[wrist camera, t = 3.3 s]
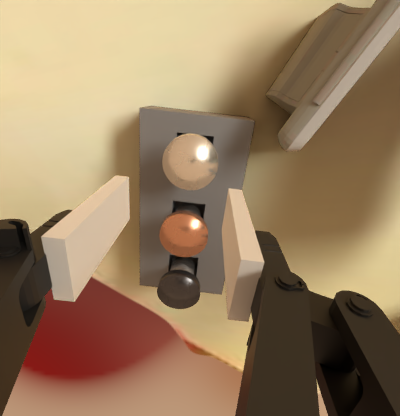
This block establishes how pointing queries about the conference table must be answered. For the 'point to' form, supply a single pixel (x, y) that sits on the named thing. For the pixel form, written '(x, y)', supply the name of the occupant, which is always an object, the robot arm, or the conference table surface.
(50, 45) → the conference table surface
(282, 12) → the conference table surface
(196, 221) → the plunger terracotta
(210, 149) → the plunger ivory
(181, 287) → the plunger black
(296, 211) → the conference table surface
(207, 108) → the conference table surface
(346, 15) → the digital clock
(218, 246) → the panel
